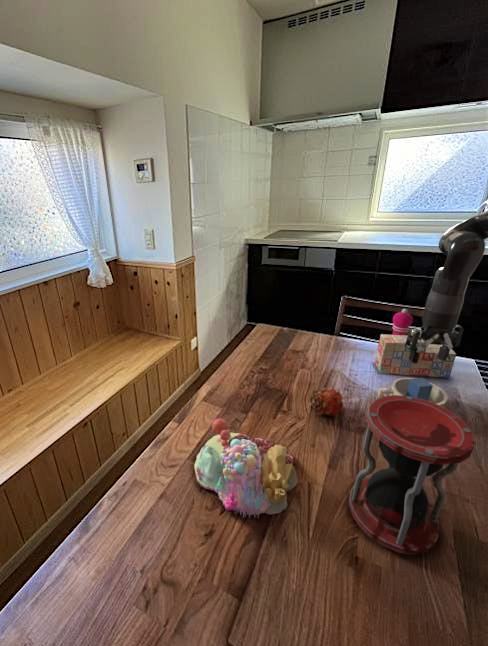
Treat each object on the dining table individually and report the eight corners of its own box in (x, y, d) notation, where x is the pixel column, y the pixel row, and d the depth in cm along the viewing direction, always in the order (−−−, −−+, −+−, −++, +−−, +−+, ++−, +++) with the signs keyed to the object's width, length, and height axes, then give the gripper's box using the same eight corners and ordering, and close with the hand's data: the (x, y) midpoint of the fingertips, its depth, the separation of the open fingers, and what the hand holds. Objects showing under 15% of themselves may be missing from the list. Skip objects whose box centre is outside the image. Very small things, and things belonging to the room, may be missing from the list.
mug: (431, 394, 105) (435, 379, 103) (451, 423, 93) (456, 408, 91) (370, 388, 109) (373, 374, 107) (382, 416, 97) (386, 401, 95)
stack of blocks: (441, 368, 117) (450, 337, 112) (449, 378, 112) (459, 346, 107) (374, 363, 123) (380, 333, 117) (378, 373, 117) (385, 341, 112)
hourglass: (351, 540, 66) (374, 444, 56) (346, 474, 80) (363, 388, 70) (449, 567, 61) (493, 467, 51) (425, 492, 75) (456, 402, 64)
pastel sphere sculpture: (298, 447, 88) (301, 419, 85) (296, 532, 68) (300, 500, 64) (206, 430, 96) (205, 404, 92) (180, 502, 76) (177, 472, 72)
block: (416, 399, 103) (422, 377, 99) (426, 407, 99) (433, 385, 96) (404, 400, 102) (410, 379, 99) (413, 409, 99) (420, 386, 95)
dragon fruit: (309, 424, 98) (331, 411, 105) (334, 422, 91) (356, 408, 99) (298, 395, 100) (321, 385, 107) (323, 391, 93) (345, 380, 100)
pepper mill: (408, 359, 124) (421, 309, 116) (398, 365, 120) (410, 314, 112) (389, 351, 129) (400, 303, 121) (378, 357, 126) (388, 308, 118)
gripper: (428, 315, 84) (413, 370, 90) (480, 310, 85) (462, 365, 91) (407, 304, 90) (394, 356, 97) (455, 300, 92) (440, 351, 98)
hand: (427, 360), depth 94 cm, fingers open, 8 cm apart
